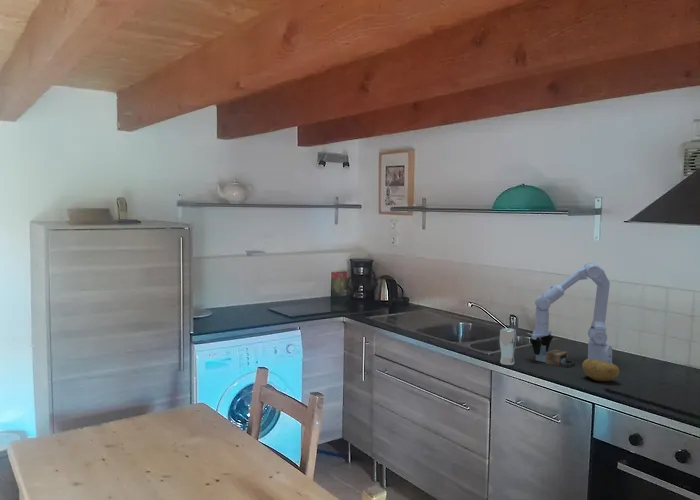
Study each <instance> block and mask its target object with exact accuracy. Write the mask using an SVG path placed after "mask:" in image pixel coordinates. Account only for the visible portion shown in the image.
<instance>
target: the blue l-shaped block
mask: <svg viewBox="0 0 700 500" xmlns="http://www.w3.org/2000/svg"><path fill="white" fill-rule="evenodd" d="M535 361H537V362H542V363H546V346H544V345H542V344H541V348H540V354H539V355H537V354H535ZM560 363H564V364H566V358H562V357H560Z"/></svg>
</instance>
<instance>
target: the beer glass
mask: <svg viewBox="0 0 700 500" xmlns="http://www.w3.org/2000/svg"><path fill="white" fill-rule="evenodd" d="M516 331H517V330H516V329H515V328H510V327H503V328H500V330H499V347H500V354H501V355H500V362H499V363H500V364H501V365H505V366H514V365H515V357H514V355H515V349H516V346H517V345H516V344H517V332H516Z"/></svg>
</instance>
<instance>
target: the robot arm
mask: <svg viewBox="0 0 700 500" xmlns="http://www.w3.org/2000/svg"><path fill="white" fill-rule="evenodd" d="M588 278H589V279H591V280H592V282H593V283H594V284H595V285H596V292H595V302H594V309H593V317H592V318H593V319H592V322H591V324H590V328H589V329H588V331H587V336H588V338H589V340H588V343H587V344H588V345H587V359H595V360H601V361H604V362H607V363H611V364H614V363H613V347H612V346H611V345H609V344H607V341H608V335H607V327H606V326H607V325H606V319H607V310H608V302H609V293H610V285H611V283H610V280H609V278H608V276H607V275H606V273H605V270H604V269H603V268H602V267H601V266H599V265H598V264H595V263H593V262H588V263H585V264H584V265H583V266H580V267H579V268H578V269H577V270H576V271H575V272H573V273H572V274H571V275H569V276H568V277H567V278H566V279H565V280H563V282H562V283H560V284H554V285H551V286H550V287H549V289H548V290H546V291H545V292H542V293H541V295H538V296H537V297H536V299H535V301H534V305H535V306H536V308H535V315H534V316H535V319H534V321H535V323H534V330H533V331H532V334H531V337H529V342H530V343H531V346H532V349H533V353H534V355H536V354H537V355H539V354H540V348H541V345H544V346H546V352H549V349H550V344H551V342H552V340H553V339H554V336H553V335H552V330H549V324H550V320H549V319H550V313H549V310H550V307H551V304H554V303H555V302H556V301H558V300H559V299H561V298H562V297H563V296H564V295H565V291H566V290H568V289H569V288H570V287H572V286H573V285H574V284H576V283H577V282H579V281H583V280H588Z"/></svg>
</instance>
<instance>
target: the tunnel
mask: <svg viewBox="0 0 700 500" xmlns="http://www.w3.org/2000/svg"><path fill="white" fill-rule="evenodd" d="M568 354H569V352H568V351H565V350H559V349H552V350H550V351H549V350H548V352H546V362H545V364H546V365H550V366H555V367H561V366H560V357H562V358H566V363H567V360H569V355H568Z"/></svg>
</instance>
